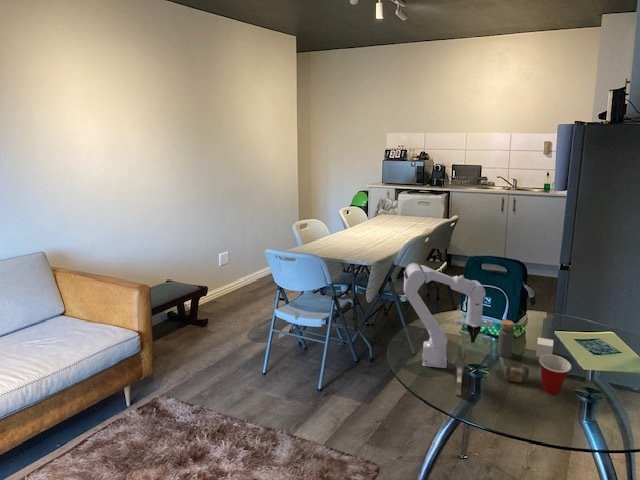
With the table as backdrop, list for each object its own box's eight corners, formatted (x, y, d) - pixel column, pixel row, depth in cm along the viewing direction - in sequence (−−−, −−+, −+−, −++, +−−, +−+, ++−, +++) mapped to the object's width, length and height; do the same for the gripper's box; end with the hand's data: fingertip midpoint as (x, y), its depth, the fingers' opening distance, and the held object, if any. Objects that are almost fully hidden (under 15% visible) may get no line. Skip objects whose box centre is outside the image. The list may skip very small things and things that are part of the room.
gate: (457, 376, 194) (457, 365, 192) (461, 377, 193) (462, 365, 192) (456, 395, 182) (456, 382, 181) (460, 395, 182) (461, 383, 180)
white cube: (535, 356, 207) (537, 343, 206) (536, 349, 212) (537, 337, 211) (551, 359, 205) (553, 346, 203) (552, 352, 210) (553, 339, 208)
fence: (503, 381, 190) (504, 368, 189) (502, 377, 193) (503, 364, 191) (528, 383, 188) (529, 370, 187) (527, 380, 191) (528, 367, 189)
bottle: (513, 358, 206) (516, 325, 202) (498, 357, 207) (501, 324, 203) (510, 351, 212) (513, 319, 207) (496, 350, 213) (499, 318, 209)
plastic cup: (554, 402, 177) (558, 372, 174) (529, 387, 186) (532, 359, 183) (574, 393, 182) (578, 364, 178) (549, 379, 191) (552, 351, 188)
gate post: (455, 376, 194) (456, 363, 193) (455, 372, 197) (456, 360, 195) (463, 377, 194) (464, 364, 192) (463, 373, 196) (463, 360, 195)
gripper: (456, 314, 196) (454, 344, 200) (494, 316, 192) (492, 348, 196) (455, 306, 202) (454, 336, 206) (493, 309, 199) (490, 339, 203)
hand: (472, 341), depth 202 cm, fingers closed
